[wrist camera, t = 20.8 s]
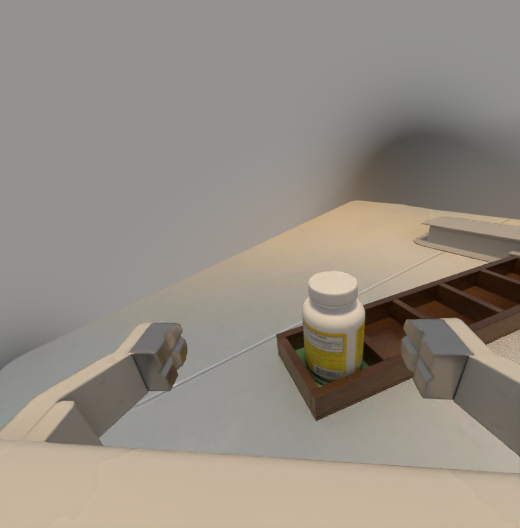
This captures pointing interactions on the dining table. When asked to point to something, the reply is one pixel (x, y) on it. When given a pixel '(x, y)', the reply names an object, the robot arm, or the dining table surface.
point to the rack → (391, 332)
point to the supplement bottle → (333, 326)
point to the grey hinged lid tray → (472, 238)
